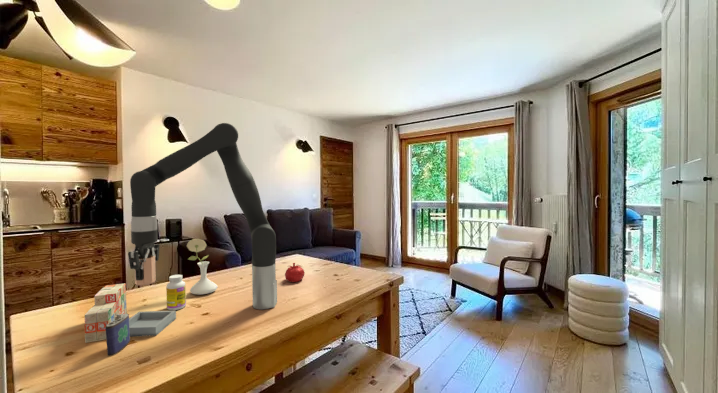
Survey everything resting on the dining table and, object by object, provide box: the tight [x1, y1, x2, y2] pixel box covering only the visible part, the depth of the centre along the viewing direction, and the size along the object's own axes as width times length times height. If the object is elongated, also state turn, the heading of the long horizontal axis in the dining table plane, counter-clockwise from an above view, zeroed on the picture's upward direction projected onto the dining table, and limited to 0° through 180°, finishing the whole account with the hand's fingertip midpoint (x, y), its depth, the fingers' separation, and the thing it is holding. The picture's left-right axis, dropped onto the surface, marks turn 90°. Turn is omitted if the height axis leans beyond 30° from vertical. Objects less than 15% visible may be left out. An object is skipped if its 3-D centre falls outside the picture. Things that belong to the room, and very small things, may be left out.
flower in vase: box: [186, 238, 218, 295], centre depth 144 cm, size 13×11×25 cm
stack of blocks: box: [84, 283, 128, 344], centre depth 110 cm, size 21×6×12 cm, turn 24°
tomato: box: [284, 262, 306, 283], centre depth 162 cm, size 10×10×9 cm
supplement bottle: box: [166, 274, 187, 311], centre depth 127 cm, size 7×7×13 cm
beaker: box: [133, 255, 157, 286], centre depth 109 cm, size 6×6×9 cm
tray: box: [129, 310, 177, 338], centre depth 110 cm, size 13×13×3 cm
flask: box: [105, 313, 131, 357], centre depth 96 cm, size 9×3×11 cm, turn 8°
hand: (145, 276), depth 109 cm, fingers closed on beaker, 5 cm apart
